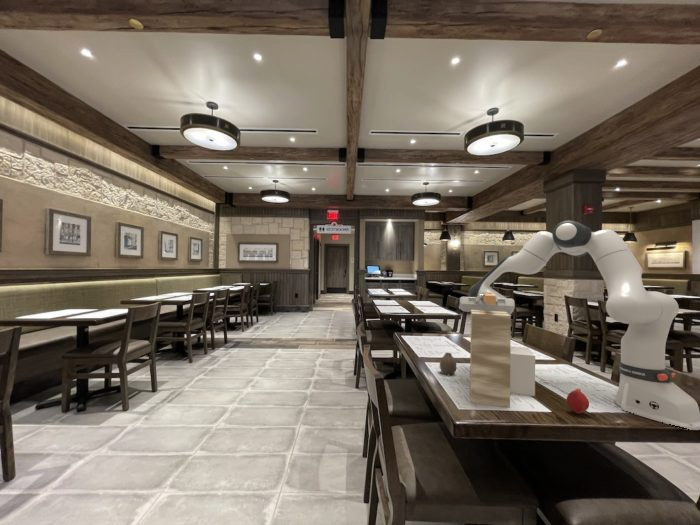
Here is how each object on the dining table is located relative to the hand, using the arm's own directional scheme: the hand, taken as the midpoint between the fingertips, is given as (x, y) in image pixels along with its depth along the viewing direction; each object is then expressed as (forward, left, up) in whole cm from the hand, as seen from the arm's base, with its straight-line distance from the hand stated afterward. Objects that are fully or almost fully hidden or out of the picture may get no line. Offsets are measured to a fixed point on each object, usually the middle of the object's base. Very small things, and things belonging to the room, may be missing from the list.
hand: (487, 296), depth 124 cm
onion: (-26, -12, -35) cm, 46 cm away
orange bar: (-4, +3, -2) cm, 6 cm away
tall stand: (-7, +6, -35) cm, 37 cm away
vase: (+20, +2, -35) cm, 41 cm away
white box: (-3, -11, -35) cm, 37 cm away
